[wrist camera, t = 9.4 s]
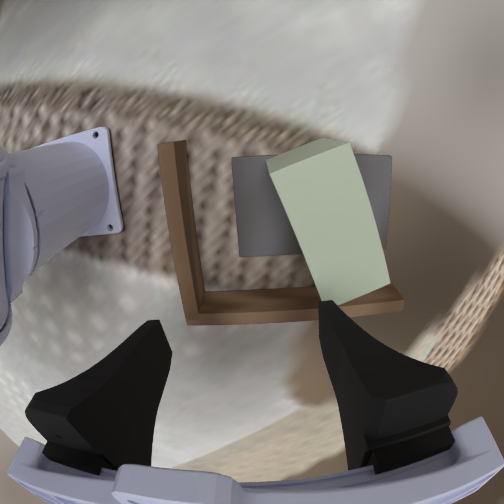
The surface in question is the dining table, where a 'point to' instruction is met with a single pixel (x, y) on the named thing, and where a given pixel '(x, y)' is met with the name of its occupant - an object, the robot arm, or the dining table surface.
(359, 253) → the sage block
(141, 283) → the dining table surface
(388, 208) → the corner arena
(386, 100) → the dining table surface
